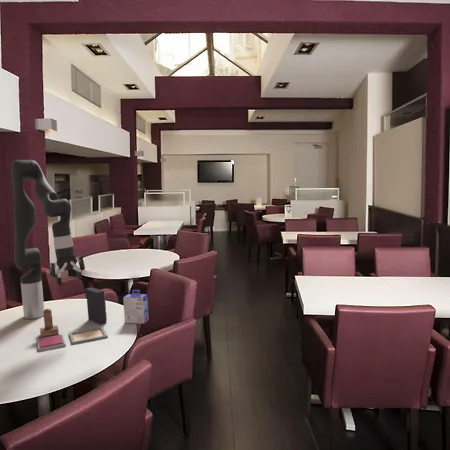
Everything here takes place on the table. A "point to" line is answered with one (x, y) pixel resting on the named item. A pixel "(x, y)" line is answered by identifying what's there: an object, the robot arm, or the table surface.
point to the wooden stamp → (48, 325)
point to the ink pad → (51, 342)
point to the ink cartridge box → (136, 308)
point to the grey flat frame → (87, 335)
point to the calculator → (96, 305)
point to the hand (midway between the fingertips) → (70, 283)
